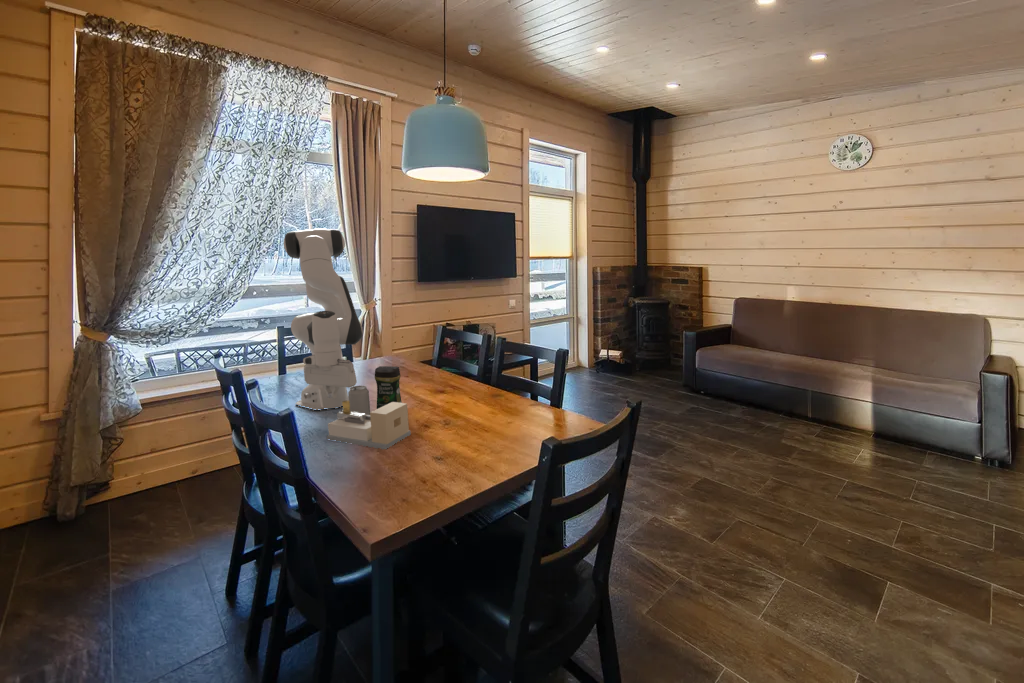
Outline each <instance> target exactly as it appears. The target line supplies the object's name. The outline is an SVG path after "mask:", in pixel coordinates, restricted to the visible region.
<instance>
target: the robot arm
mask: <svg viewBox="0 0 1024 683" xmlns="http://www.w3.org/2000/svg"><path fill="white" fill-rule="evenodd" d="M344 237H345V236H343V234H342V232H341V231H340V230H339V229H336V228H330V229H329V228H328V229H327V228H313V229H303V230H302V229H301V230H292V231H291V230H290V231H288V232H286V234H285V235H284V239H283V249H284V251H285V252H286V254H287V256H288V257H290V258H291V259H299V262H300V272H301V276H302V279H303V281H304V282H305V287H306V288H305V289H306V296H307V299H309V300H310V301H311V302H312V303H315V304H318V305H320V306H322V307H323V309H324V310H321V311H317V312H307V313H303V314H299V315H296V316H294V317H293V319H292V320H291V323H290V331H291V333H292V335H293V336H294V337H295V339H297V340H299V341H300V342H302V343H303V345H304V344H305V346H307V348H308V350H309V351H310V353H311V355H309V356H306V357H304V358H303V359H302V362H303V364H304V367H303V378H304V381H305V383H306V384H307V386H306V387H304V388H302V391H301V394H300V396H301V397H300V400H298V401H297V402H295V405H296V404H297V405H301V406H305V407H309V408H312V409H316V410H318V409H324V408H335V407H340V408H342V407H341V406H342V402H343V401H349V396H348V388H351V387H353V386H357V383H358V382H357V376H356V375H357V374H356V371H355V367H354V363H353V362H352V361H350V359H343V352H342V347H341V345H345V346H346V345H349V346H350V345H352V346H354V345H356V344H358V342H361V339H363V333H364V332H363V327H362V324H361V321H360V320H359V317H358V315H357V311H356V308H355V306H354V303H353V300H352V296H351V295H350V294H351V293H350V291H349V289H348V285H347V283H346V280H345V278H344V277H343V276H340V275H339V274H338V273H337V271H336V270H335V269H334V265H333V260H334V261H335V260H337V258H338V257H340V256H341V255H342V254H343V253H344V249H345V246H346V241H345V238H344ZM332 257H333V258H334V259H333V260H332ZM335 409H336V408H335Z"/></svg>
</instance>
